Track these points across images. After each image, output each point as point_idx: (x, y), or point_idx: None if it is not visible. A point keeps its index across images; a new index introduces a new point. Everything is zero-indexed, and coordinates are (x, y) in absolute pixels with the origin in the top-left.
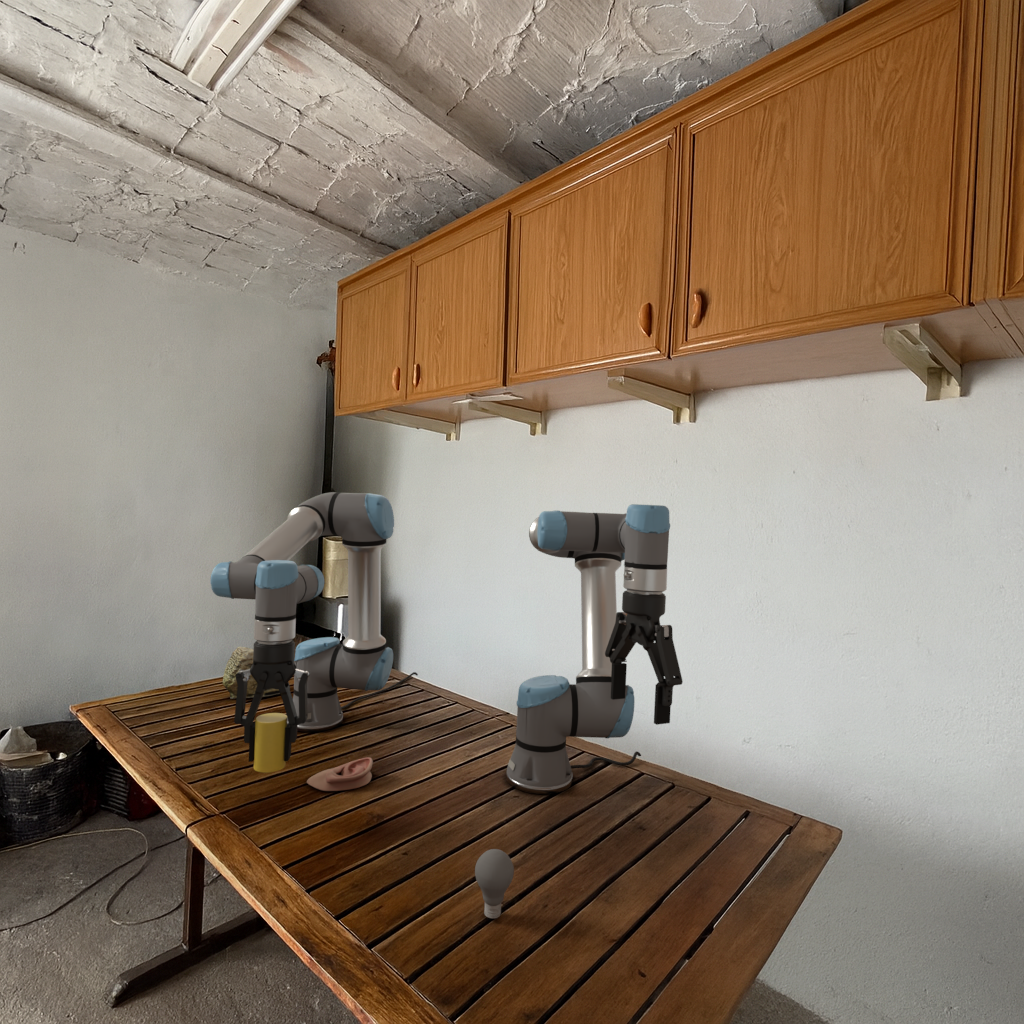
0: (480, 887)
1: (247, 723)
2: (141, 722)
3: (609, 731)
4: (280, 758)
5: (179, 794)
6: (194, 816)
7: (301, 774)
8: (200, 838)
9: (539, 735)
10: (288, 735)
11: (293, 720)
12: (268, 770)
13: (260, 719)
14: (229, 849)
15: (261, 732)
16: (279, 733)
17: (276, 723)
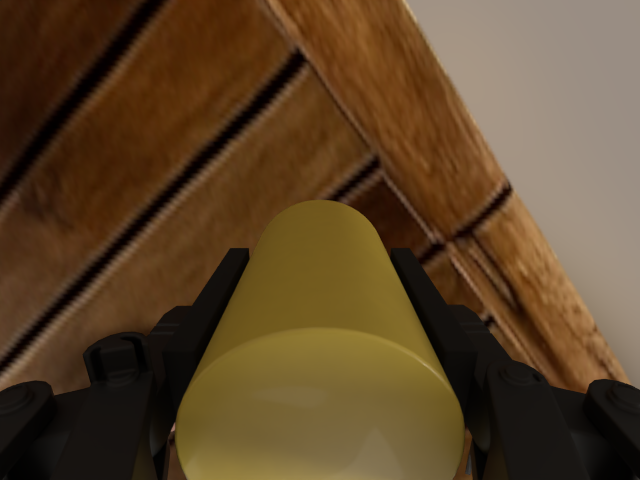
0: None
1: (518, 380)
2: None
3: None
4: (259, 243)
5: (554, 336)
6: (503, 232)
7: None
8: (470, 119)
9: None
10: (189, 316)
11: (96, 403)
12: (309, 202)
13: (414, 414)
14: (383, 53)
15: (370, 289)
16: (236, 301)
17: (238, 340)
